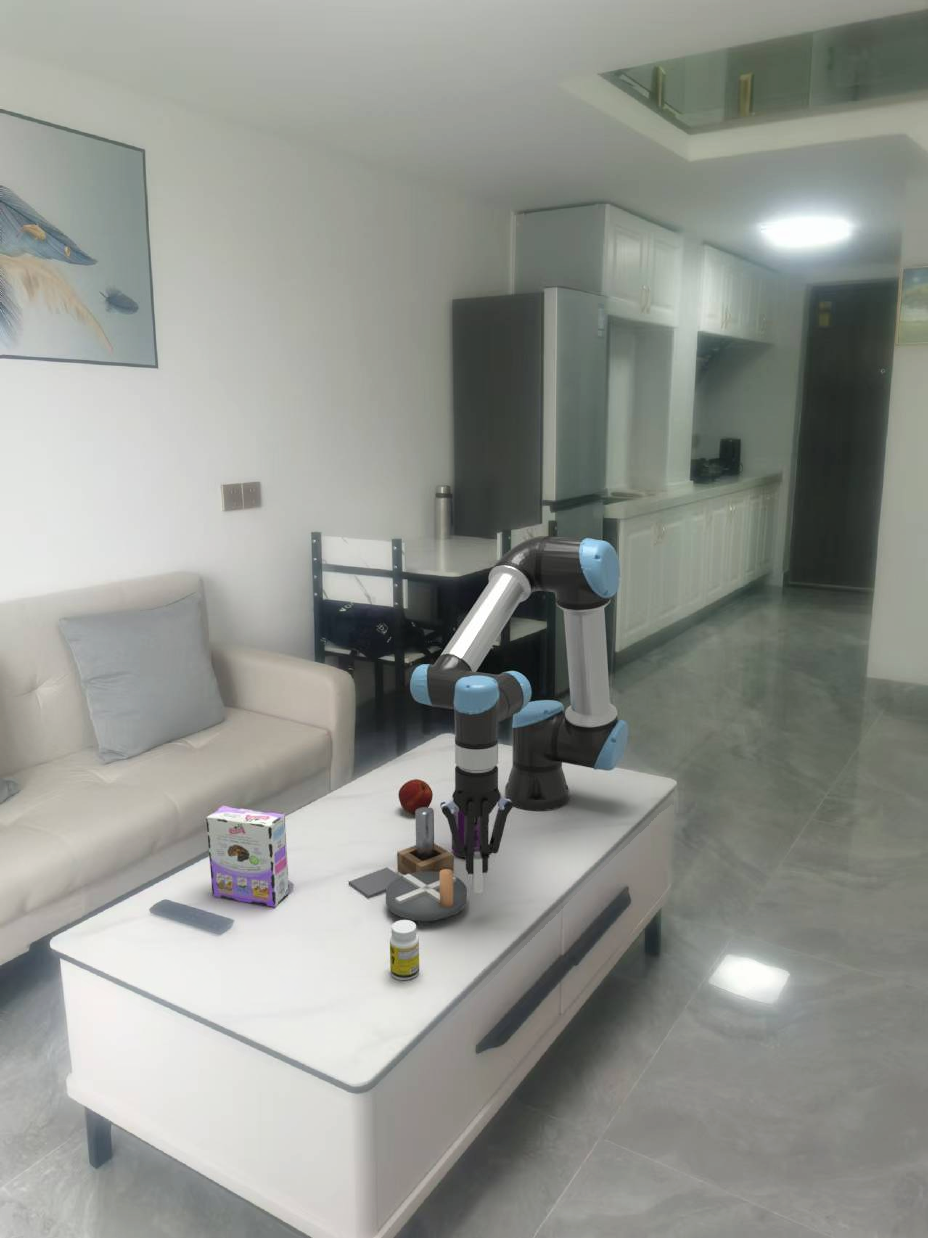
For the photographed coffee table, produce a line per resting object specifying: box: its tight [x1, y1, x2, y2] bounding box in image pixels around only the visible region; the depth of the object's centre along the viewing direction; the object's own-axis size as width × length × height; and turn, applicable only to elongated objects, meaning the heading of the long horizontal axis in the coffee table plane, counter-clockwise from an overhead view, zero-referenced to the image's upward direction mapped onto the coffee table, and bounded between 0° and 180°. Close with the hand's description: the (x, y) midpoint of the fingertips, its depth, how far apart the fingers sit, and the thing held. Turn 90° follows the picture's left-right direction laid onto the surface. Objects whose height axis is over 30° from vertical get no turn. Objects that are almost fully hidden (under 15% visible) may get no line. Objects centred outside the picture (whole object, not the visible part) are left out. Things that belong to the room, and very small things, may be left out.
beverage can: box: [451, 805, 480, 858], centre depth 191 cm, size 7×7×12 cm
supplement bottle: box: [389, 919, 420, 981], centre depth 150 cm, size 5×5×8 cm
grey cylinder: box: [414, 807, 435, 861], centre depth 183 cm, size 4×4×13 cm
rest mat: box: [348, 867, 401, 899], centre depth 179 cm, size 9×7×1 cm
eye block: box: [396, 842, 455, 875], centre depth 184 cm, size 8×8×4 cm
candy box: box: [205, 805, 290, 908], centre depth 174 cm, size 14×6×16 cm, turn 71°
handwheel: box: [385, 869, 468, 921], centre depth 170 cm, size 15×15×8 cm
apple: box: [397, 778, 434, 815], centre depth 211 cm, size 7×8×8 cm
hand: (476, 888), depth 166 cm, fingers closed
